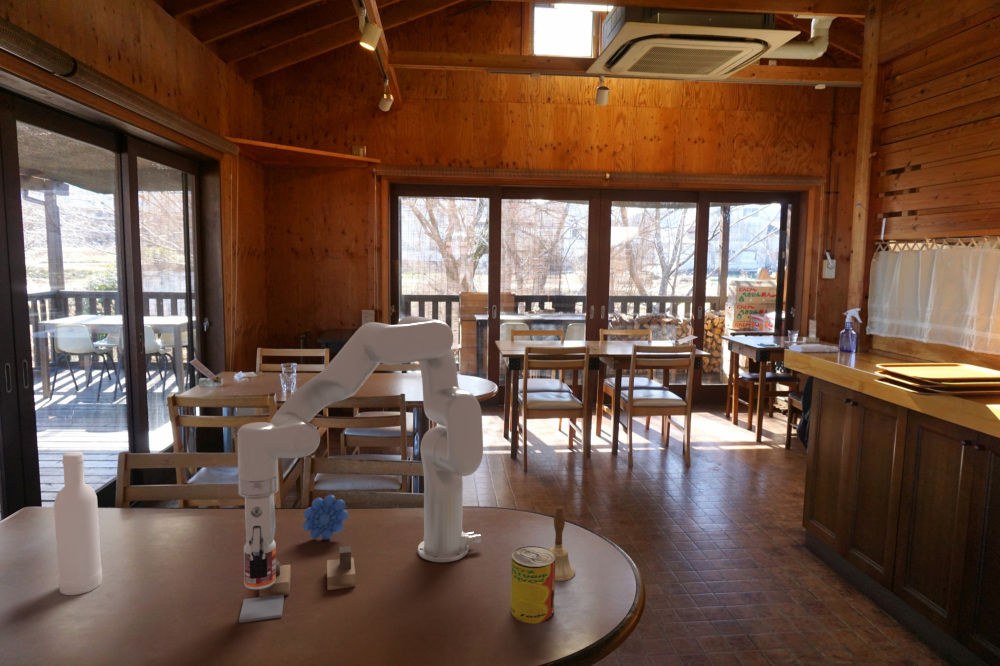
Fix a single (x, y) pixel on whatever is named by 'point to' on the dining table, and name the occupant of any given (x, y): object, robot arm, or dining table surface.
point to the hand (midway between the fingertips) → (260, 568)
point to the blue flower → (325, 517)
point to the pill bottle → (271, 567)
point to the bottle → (77, 530)
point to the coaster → (261, 608)
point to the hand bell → (561, 550)
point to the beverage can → (532, 584)
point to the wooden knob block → (337, 575)
